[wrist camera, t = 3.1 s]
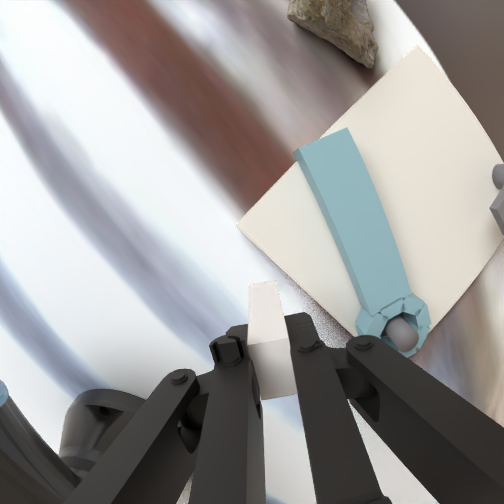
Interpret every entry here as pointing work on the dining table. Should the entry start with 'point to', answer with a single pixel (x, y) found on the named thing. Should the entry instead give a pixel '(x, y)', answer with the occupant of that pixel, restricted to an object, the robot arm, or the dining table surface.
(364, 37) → the rock
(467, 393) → the dining table surface
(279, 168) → the dining table surface
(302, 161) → the link
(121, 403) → the robot arm
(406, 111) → the board
